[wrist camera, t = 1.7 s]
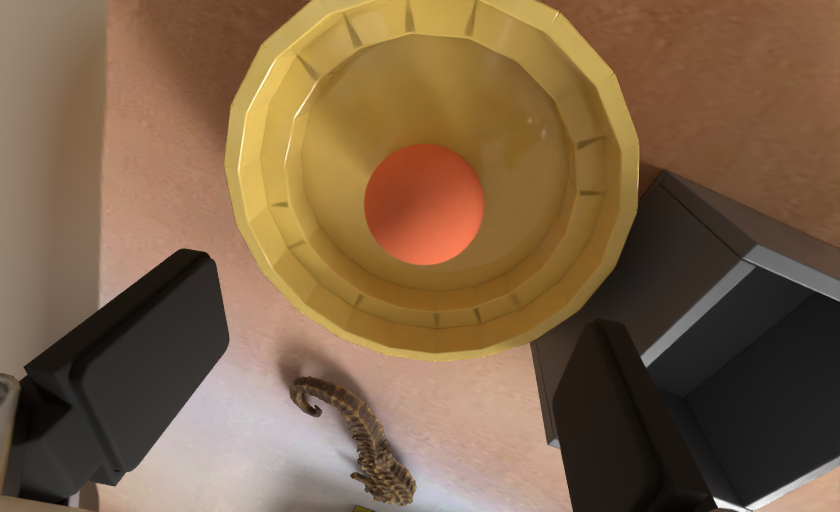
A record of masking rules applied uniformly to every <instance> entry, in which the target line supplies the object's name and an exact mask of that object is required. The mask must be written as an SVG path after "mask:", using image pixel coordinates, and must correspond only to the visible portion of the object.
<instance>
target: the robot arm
mask: <svg viewBox="0 0 840 512" xmlns="http://www.w3.org/2000/svg"><path fill="white" fill-rule="evenodd" d="M228 344H229V332H228V327H227V321H226V316H225V310H224V305H223V299H222V294H221V289H220V283H219V278H218V272H217V267H216V263H215V261H214V260H213V259H211V258H210V256H209V254H208V253H206V252H202V251H197V250H191V249H185V248H184V249H180V250H178V251H176V252H175V253H174V254H172V255H171V256H170V257H168V258H167V259H166V260H164V261H163V262H162V263H160V264H159V265H158V266H156V267H155V268H154V269H152V270H151V271H150V272H148V273H147V274H146V275H144V276H143V277H142V278H141V279H139V280H138V281H137V282H135V283H134V284H133V285H131V286H130V287H129V288H127V289H126V290H125V291H123V292H122V293H121V294H119V295H118V296H117V297H115V298H114V299H113V300H111V301H110V302H109V303H107V304H106V305H105V306H103V307H102V308H101V309H100V310H98V311H97V312H96V313H94V314H93V315H92V316H90V317H89V318H88V319H86V320H85V321H84V322H82V323H81V324H80V325H78V326H77V327H76V328H74V329H73V330H72V331H71V332H69V333H68V334H67V335H65V336H64V337H62V338H61V339H60V340H58V341H57V342H56V343H55V344H53V345H52V346H51V347H49V348H48V349H47V350H45V351H44V352H43V353H41V354H40V355H39V356H37V357H36V358H35V359H33V360H32V361H31V362H29V363H28V364H27V365H25V366H24V369H25V370H26V372H27V374H28V375H27V376H26V377H24V378H23V379H21V380H20V381H18V380H17V379H16V378H15V377H14V376H11V375H7V374H4V373H0V512H96V511H90V510H85V509H79V508H78V507H79V491H80V489H81V488H82V486H83V485H84V484H85V483H86V482H87V481H88V479H90V481H91V482H95V483H100V484H105V485H110V486H116V485H117V483H118V482H119V481H120V480H121V478H122V477H123V476H124V474H125V473H126V472H130V471H132V470H134V469H135V468H136V467H137V466H138V465H139V464H140V462H141V461H142V460H143V458H144V457H145V456H146V454H147V453H148V452H149V450H150V449H151V448H152V447H153V445H154V444H155V443H156V441H157V440H158V439H159V437H160V436H161V435H162V434H163V432H164V431H165V430H166V428H167V427H168V426H169V424H170V423H171V422H172V420H173V419H174V418H175V417H176V415H177V414H178V413H179V411H180V410H181V409H182V407H183V406H184V405H185V403H186V402H187V401H188V400H189V398H190V397H191V396H192V394H193V393H194V392H195V390H196V389H197V388H198V387H199V385H200V384H201V383H202V381H203V380H204V379H205V377H206V376H207V375H208V373H209V372H210V371H211V370H212V368H213V367H214V366H215V364H216V363H217V362H218V360H219V359H220V358H221V356H222V355H223V354H224V353H225V351H226V349H227V347H228ZM552 410H553V415H554V420H555V425H556V430H557V435H558V440H559V445H560V449H561V454H562V459H563V464H564V469H565V474H566V479H567V484H568V489H569V494H570V499H571V504H572V509H573V512H739V511H736V510H733V509H728V508H718V506H717V504H716V502H715V500H714V498H713V496H712V494H711V492H710V490H709V488H708V486H707V484H706V482H705V480H704V479H703V477H702V475H701V473H700V471H699V469H698V467H697V465H696V463H695V461H694V459H693V457H692V455H691V453H690V451H689V449H688V447H687V445H686V443H685V441H684V439H683V437H682V435H681V433H680V431H679V429H678V427H677V425H676V423H675V421H674V419H673V417H672V415H671V413H670V411H669V409H668V407H667V405H666V403H665V401H664V399H663V397H662V395H661V393H660V392H659V390H658V389H657V387H656V386H655V385H654V383H653V381H652V379H651V377H650V375H649V373H648V371H647V369H646V367H645V365H644V363H643V361H642V359H641V357H640V355H639V353H638V351H637V349H636V347H635V345H634V343H633V341H632V339H631V337H630V335H629V333H628V331H627V329H626V327H625V325H624V324H623V323H622V322H619V321H613V320H607V319H601V318H596V319H595V320H594V321H593V322H592V323H586V324H585V326H584V328H583V330H582V332H581V334H580V337H579V339H578V341H577V343H576V346H575V348H574V350H573V352H572V355H571V357H570V359H569V361H568V364H567V366H566V368H565V370H564V373H563V375H562V377H561V379H560V382H559V384H558V386H557V388H556V391H555V393H554V396H553V400H552Z"/></svg>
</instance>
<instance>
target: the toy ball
mask: <svg viewBox="0 0 840 512" xmlns="http://www.w3.org/2000/svg"><path fill="white" fill-rule="evenodd" d="M364 212H365V218H366V222H367V225H368V228H369V230H370V232H371V234H372V235H373V237H374V239H375V240H376V241H377V243H378V244H379V245H380V246H381V247H382V248H383V249H384V250H385V251H386V252H387V253H389V254H390V255H392V256H393V257H395V258H397V259H399V260H401V261H404V262H407V263H411V264H416V265H433V264H438V263H442V262H444V261H447V260H449V259H451V258H453V257H455V256H457V255H458V254H459V253H461V252H462V251H463V250H464V249H465V248H466V247H467V246H468V245H469V244H470V243H471V242H472V241H473V239H474V238H475V236H476V234H477V232H478V230H479V228H480V226H481V223H482V219H483V214H484V195H483V190H482V186H481V183H480V181H479V178H478V176H477V175H476V173H475V171H474V170H473V168H472V167H471V166H470V165H469V163H468V162H467V161H466V160H465V159H463V158H462V157H461V156H460V155H458V154H457V153H455V152H454V151H452V150H450V149H448V148H445V147H442V146H438V145H434V144H415V145H410V146H407V147H404V148H401V149H399V150H397V151H395V152H393V153H392V154H390V155H389V156H387V157H386V158H385V159H384V160H383V161H382V162H381V163H380V164H379V165H378V166H377V168H376V169H375V170H374V172H373V174H372V175H371V177H370V180H369V182H368V184H367V187H366V191H365V198H364Z"/></svg>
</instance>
